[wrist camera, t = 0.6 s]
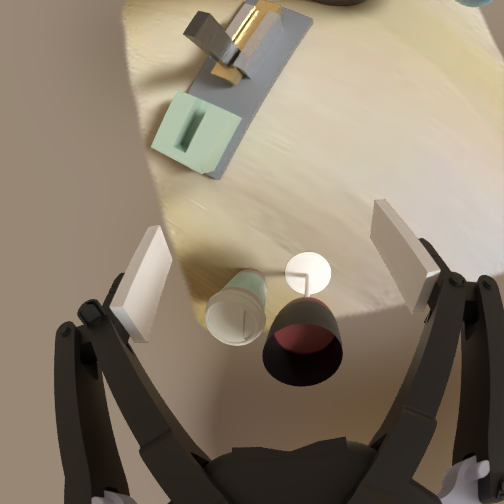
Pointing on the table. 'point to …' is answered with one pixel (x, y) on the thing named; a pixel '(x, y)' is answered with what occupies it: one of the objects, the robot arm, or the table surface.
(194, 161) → the socket block
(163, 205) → the table surface
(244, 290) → the coffee cup
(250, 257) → the table surface
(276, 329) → the wineglass
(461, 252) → the table surface
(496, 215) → the table surface
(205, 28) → the sliding bolt with handle
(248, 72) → the steel sleeve
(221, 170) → the base board
